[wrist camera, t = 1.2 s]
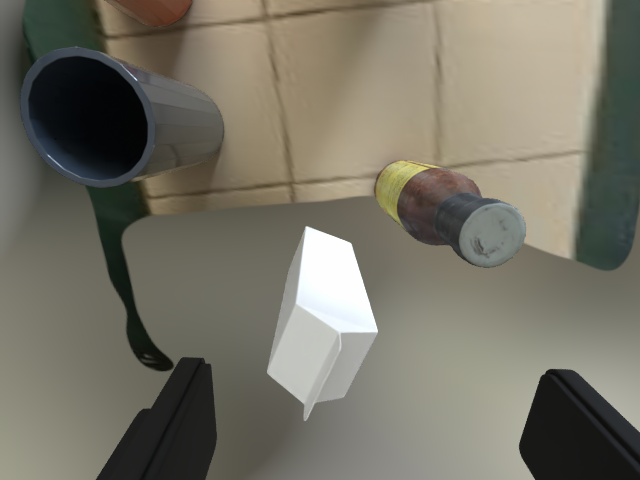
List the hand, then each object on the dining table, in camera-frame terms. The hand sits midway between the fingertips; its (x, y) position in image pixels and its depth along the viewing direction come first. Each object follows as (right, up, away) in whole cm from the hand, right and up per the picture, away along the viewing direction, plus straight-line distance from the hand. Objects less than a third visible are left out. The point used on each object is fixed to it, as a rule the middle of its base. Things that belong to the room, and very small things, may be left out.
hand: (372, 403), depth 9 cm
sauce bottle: (+8, +11, +29) cm, 32 cm away
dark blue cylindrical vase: (-16, +17, +26) cm, 35 cm away
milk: (-1, +3, +31) cm, 31 cm away
